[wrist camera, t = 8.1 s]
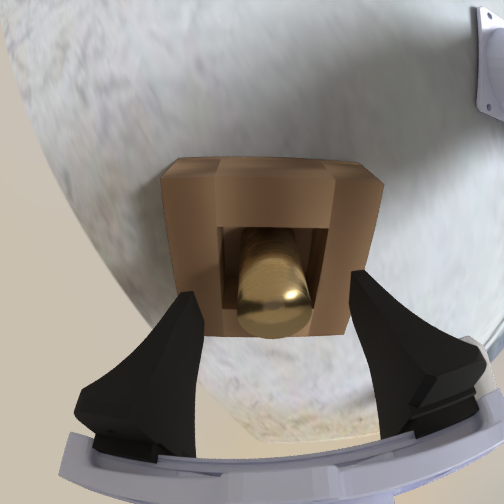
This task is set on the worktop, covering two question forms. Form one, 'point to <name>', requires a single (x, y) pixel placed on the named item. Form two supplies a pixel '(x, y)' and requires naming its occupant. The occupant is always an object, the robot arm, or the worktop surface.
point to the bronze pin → (271, 284)
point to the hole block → (269, 215)
